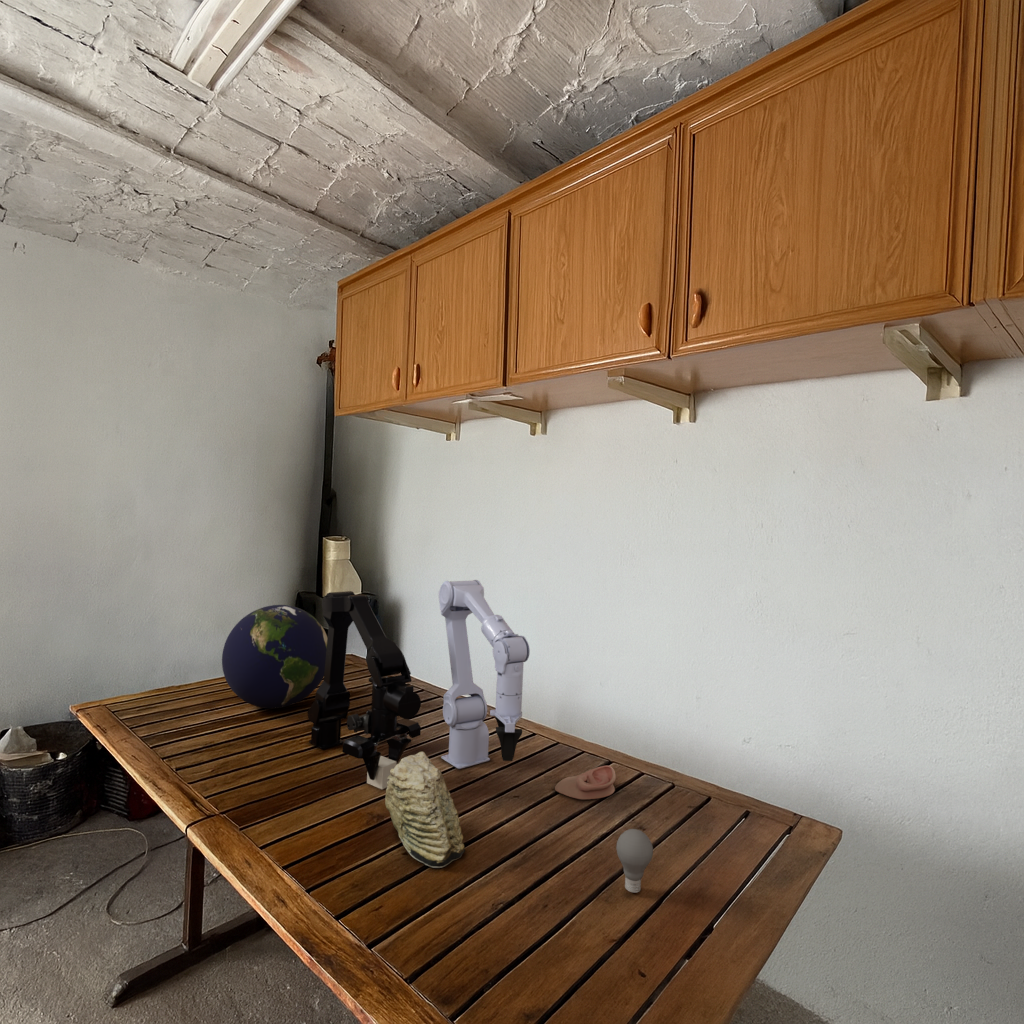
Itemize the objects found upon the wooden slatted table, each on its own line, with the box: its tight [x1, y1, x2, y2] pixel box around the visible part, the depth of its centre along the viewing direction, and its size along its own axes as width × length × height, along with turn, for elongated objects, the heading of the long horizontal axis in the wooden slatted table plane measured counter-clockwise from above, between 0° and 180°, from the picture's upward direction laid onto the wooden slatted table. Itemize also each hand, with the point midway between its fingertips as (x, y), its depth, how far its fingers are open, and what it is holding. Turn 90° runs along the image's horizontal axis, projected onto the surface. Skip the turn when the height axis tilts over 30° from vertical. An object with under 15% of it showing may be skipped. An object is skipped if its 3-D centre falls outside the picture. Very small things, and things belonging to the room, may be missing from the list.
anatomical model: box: [554, 765, 617, 800], centre depth 143 cm, size 13×4×12 cm
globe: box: [221, 604, 328, 709], centre depth 188 cm, size 30×30×30 cm
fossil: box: [384, 751, 466, 869], centre depth 117 cm, size 9×18×15 cm, turn 46°
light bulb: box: [615, 828, 654, 894], centre depth 106 cm, size 6×6×10 cm
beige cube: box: [366, 755, 398, 790], centre depth 141 cm, size 4×5×5 cm
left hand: (381, 775), depth 141 cm, fingers open, 5 cm apart
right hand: (506, 753), depth 139 cm, fingers open, 7 cm apart
